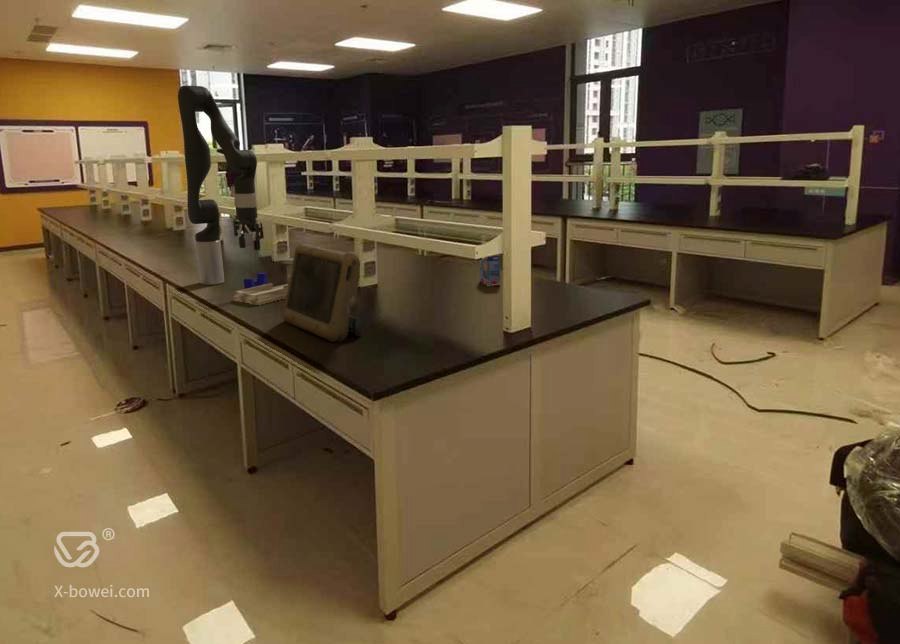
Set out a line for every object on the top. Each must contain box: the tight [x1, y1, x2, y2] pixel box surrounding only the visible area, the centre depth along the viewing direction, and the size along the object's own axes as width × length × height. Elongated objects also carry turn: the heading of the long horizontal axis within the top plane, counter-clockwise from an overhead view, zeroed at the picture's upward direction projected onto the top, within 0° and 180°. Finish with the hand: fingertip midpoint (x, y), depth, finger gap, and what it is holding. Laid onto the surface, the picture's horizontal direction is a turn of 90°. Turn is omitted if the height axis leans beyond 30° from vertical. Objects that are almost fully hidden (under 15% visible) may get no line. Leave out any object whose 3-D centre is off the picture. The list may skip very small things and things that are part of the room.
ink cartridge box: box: [478, 254, 501, 285], centre depth 254 cm, size 10×6×14 cm, turn 18°
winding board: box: [232, 257, 294, 306], centre depth 238 cm, size 14×27×12 cm, turn 144°
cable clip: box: [243, 272, 268, 289], centre depth 247 cm, size 12×4×6 cm, turn 168°
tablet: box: [282, 240, 363, 343], centre depth 193 cm, size 33×14×25 cm, turn 45°
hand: (249, 249), depth 244 cm, fingers open, 8 cm apart
